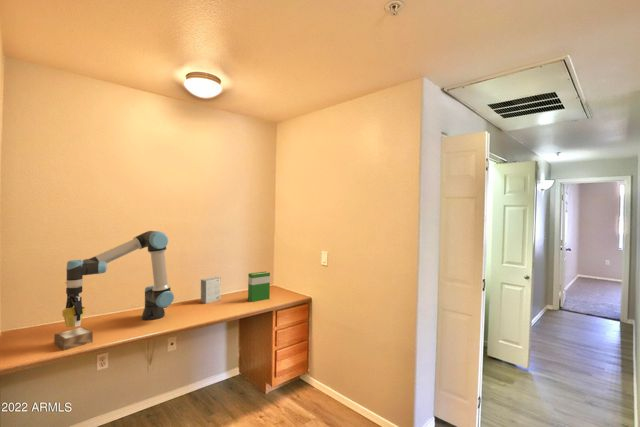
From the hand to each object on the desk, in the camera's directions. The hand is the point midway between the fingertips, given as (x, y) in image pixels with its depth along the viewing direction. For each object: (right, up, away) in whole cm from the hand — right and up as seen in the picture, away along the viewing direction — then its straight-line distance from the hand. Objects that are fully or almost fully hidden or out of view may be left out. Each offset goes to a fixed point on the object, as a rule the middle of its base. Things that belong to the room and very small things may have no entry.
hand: (73, 324), depth 184 cm
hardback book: (+90, -13, +98) cm, 134 cm away
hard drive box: (+49, -12, +91) cm, 104 cm away
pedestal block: (0, -11, 0) cm, 11 cm away
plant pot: (0, -1, 0) cm, 1 cm away
